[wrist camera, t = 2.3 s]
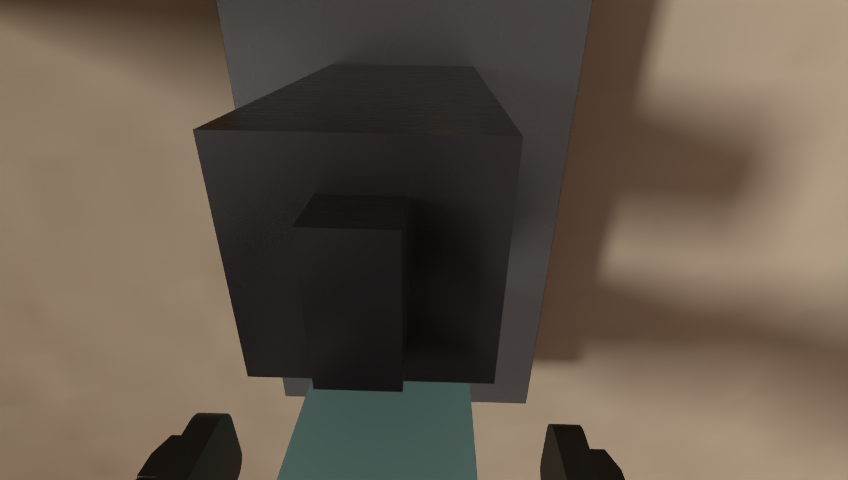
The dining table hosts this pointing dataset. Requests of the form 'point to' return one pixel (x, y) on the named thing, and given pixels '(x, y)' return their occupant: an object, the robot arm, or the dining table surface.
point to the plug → (384, 435)
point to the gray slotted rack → (392, 186)
